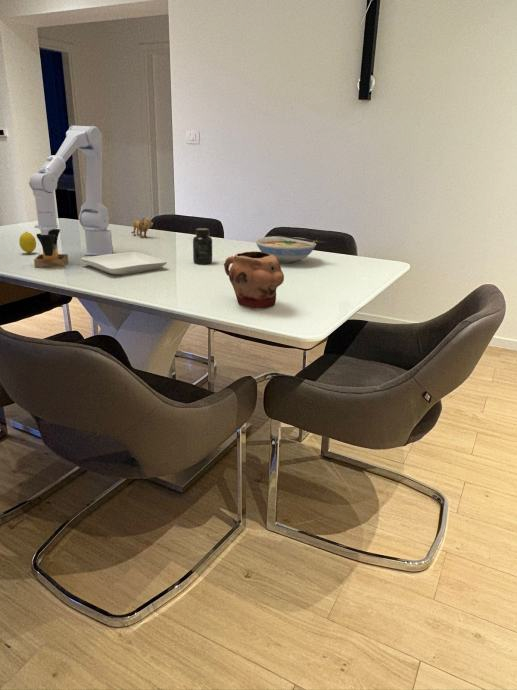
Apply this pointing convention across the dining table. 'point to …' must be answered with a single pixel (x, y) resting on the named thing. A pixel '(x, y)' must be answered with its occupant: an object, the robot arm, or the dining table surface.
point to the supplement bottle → (202, 247)
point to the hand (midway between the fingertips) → (50, 253)
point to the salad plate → (124, 263)
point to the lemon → (27, 242)
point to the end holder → (51, 261)
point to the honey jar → (55, 253)
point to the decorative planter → (254, 278)
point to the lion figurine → (142, 227)
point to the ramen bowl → (287, 247)
